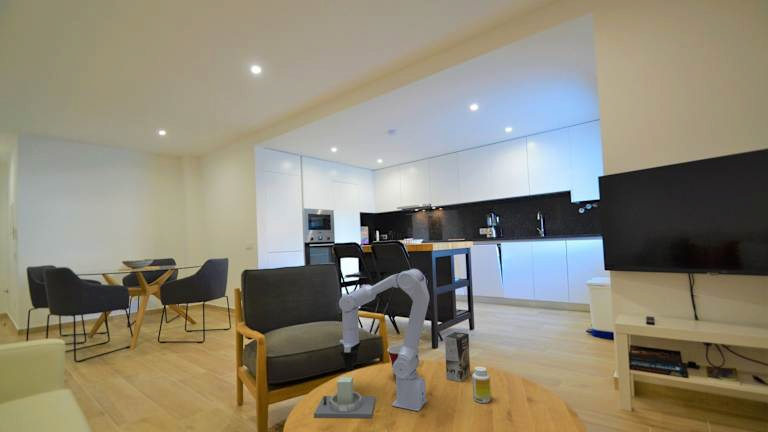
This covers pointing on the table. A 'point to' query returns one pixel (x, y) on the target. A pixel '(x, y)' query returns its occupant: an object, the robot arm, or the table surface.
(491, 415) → the table surface
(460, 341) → the coffee box
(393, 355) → the plastic cup
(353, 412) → the base board
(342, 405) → the collar
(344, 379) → the pale green rectangular block
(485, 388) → the supplement bottle
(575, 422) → the table surface
